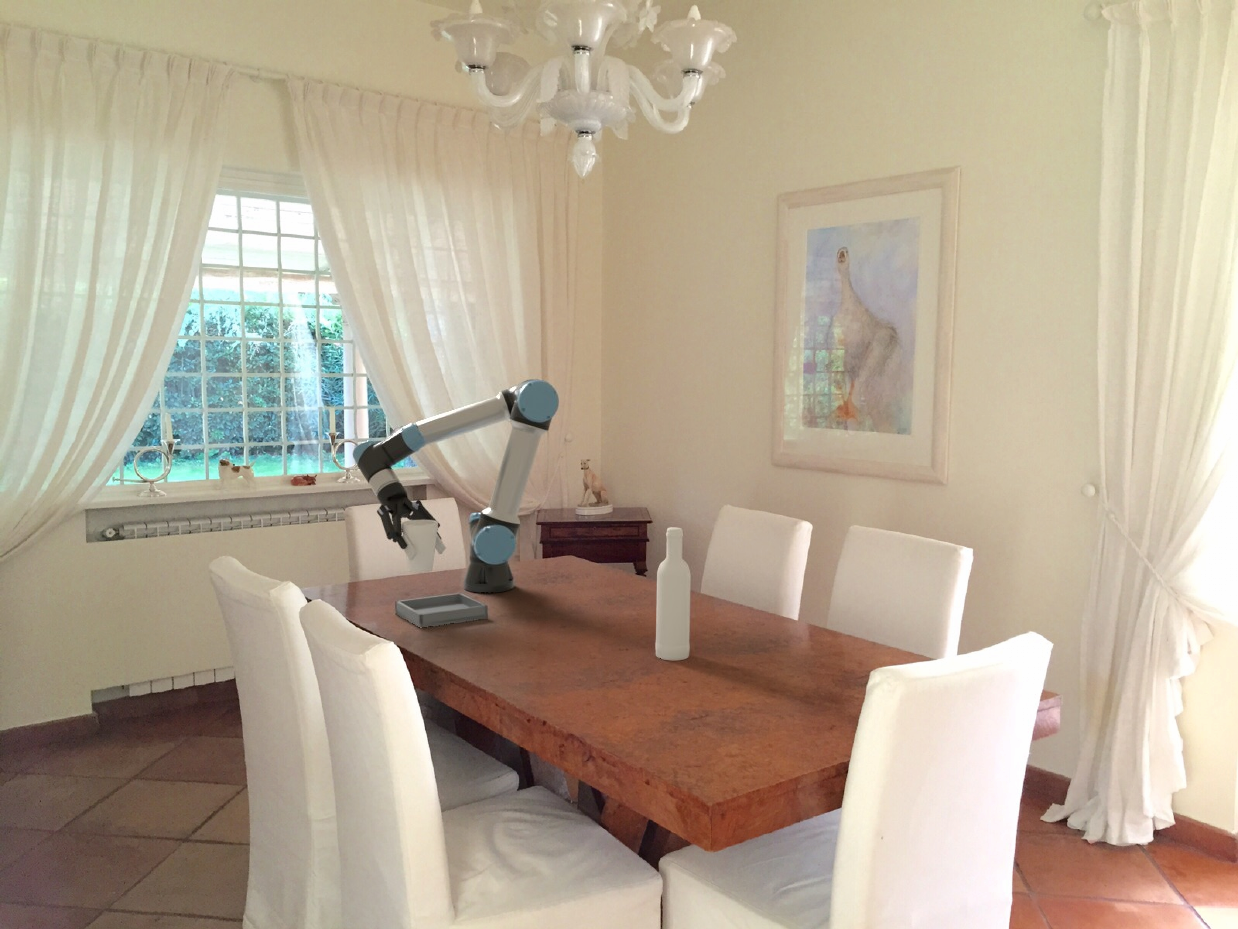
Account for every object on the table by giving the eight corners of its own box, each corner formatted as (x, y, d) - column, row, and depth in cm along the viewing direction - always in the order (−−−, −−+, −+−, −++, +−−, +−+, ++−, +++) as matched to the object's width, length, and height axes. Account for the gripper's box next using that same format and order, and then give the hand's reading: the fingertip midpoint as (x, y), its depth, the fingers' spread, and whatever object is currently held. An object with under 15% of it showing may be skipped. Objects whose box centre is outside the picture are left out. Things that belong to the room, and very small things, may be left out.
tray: (460, 605, 268) (460, 592, 268) (487, 618, 254) (487, 605, 254) (395, 614, 257) (395, 601, 257) (420, 628, 243) (419, 615, 243)
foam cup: (443, 567, 261) (442, 520, 259) (432, 575, 252) (431, 526, 250) (409, 566, 262) (408, 519, 260) (397, 573, 253) (396, 525, 251)
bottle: (683, 662, 218) (686, 532, 215) (650, 658, 220) (652, 529, 217) (693, 653, 225) (696, 527, 222) (661, 649, 228) (663, 524, 225)
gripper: (413, 494, 273) (452, 556, 265) (349, 502, 255) (388, 569, 247) (426, 477, 269) (465, 539, 261) (361, 484, 252) (402, 552, 244)
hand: (428, 554), depth 254 cm, fingers closed on foam cup, 9 cm apart
